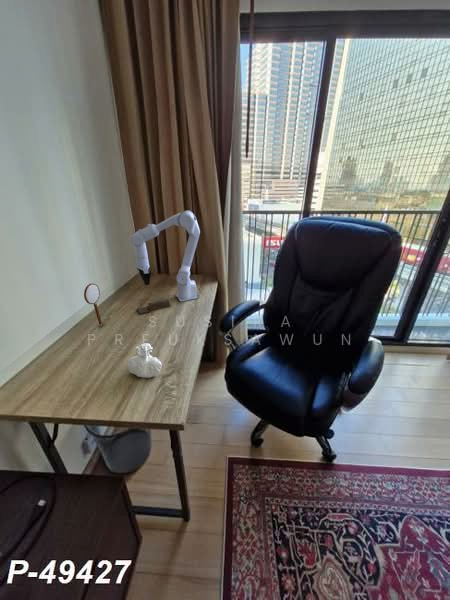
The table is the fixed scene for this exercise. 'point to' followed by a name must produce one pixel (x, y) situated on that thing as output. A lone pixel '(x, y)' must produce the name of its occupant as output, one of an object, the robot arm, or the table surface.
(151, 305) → the spatula
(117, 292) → the table surface
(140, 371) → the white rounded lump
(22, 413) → the table surface
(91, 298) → the magnifying glass
